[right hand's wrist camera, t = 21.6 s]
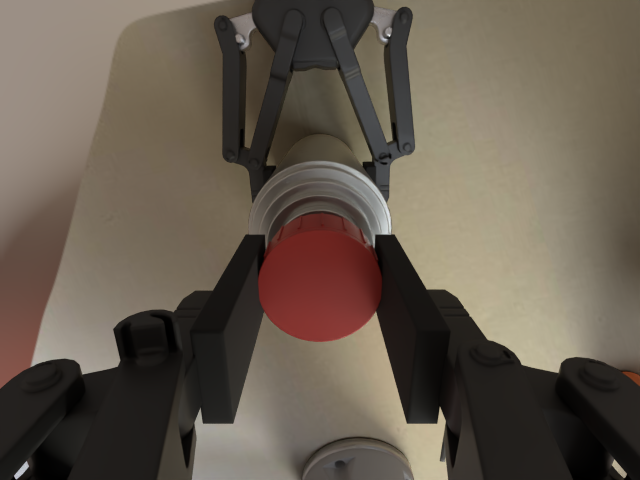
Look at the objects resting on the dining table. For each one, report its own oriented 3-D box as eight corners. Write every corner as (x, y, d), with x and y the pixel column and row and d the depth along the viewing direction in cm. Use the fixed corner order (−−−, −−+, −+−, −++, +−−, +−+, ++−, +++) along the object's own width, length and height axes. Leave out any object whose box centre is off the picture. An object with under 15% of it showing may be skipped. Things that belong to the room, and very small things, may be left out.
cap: (334, 332, 16) (336, 362, 14) (243, 279, 15) (232, 305, 13) (398, 252, 14) (410, 273, 12) (302, 189, 13) (300, 203, 12)
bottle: (323, 117, 34) (330, 135, 11) (372, 175, 36) (459, 290, 13) (267, 168, 35) (178, 273, 13) (316, 222, 37) (311, 393, 15)
